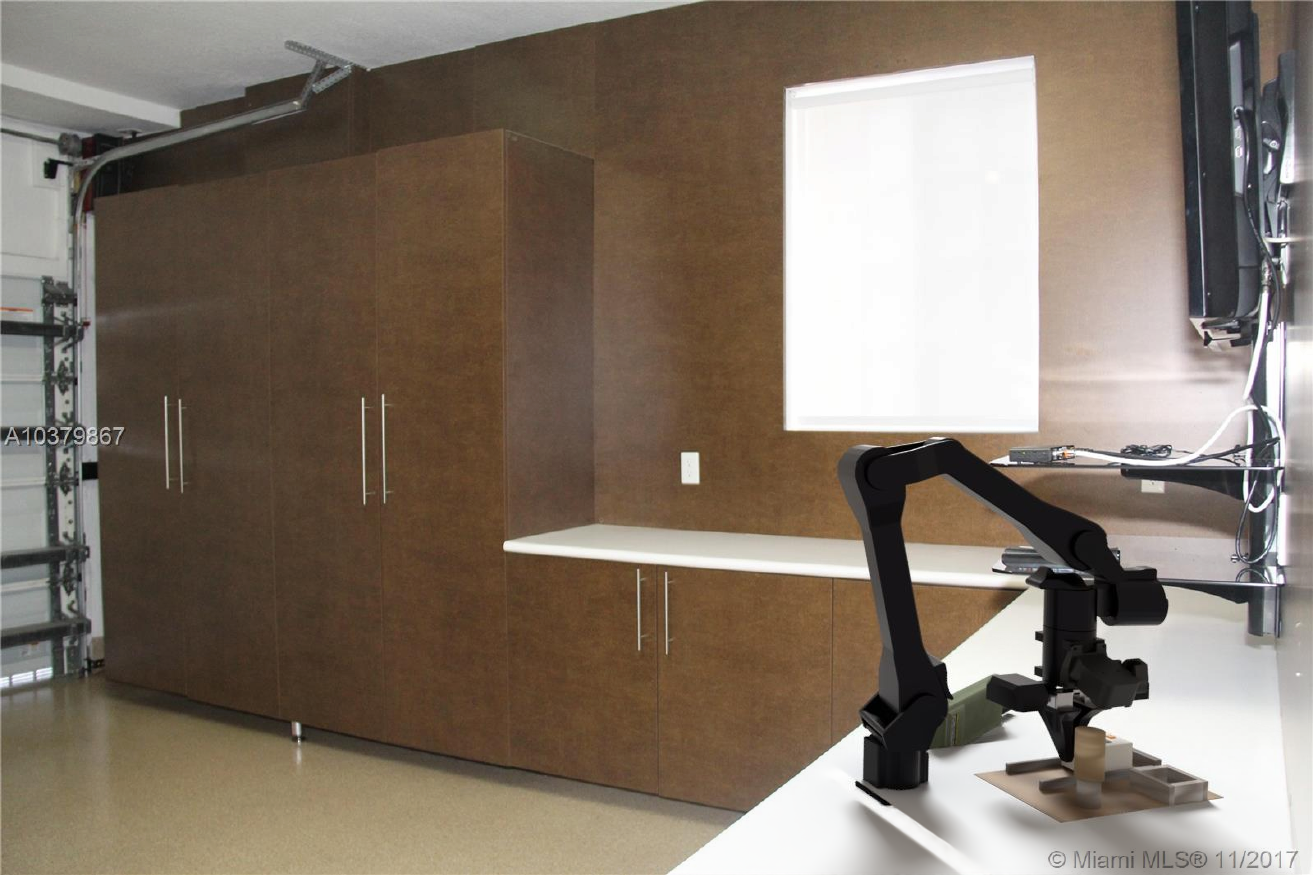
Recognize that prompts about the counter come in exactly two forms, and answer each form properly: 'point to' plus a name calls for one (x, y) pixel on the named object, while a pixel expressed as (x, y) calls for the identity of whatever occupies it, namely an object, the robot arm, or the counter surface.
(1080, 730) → the tan rounded cylinder
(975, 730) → the handheld radio
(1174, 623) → the counter surface
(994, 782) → the board
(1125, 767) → the box
